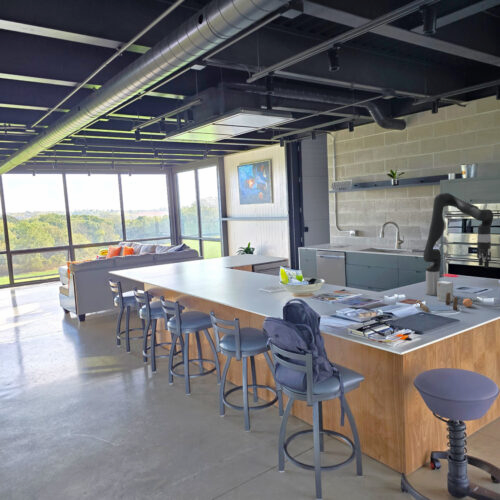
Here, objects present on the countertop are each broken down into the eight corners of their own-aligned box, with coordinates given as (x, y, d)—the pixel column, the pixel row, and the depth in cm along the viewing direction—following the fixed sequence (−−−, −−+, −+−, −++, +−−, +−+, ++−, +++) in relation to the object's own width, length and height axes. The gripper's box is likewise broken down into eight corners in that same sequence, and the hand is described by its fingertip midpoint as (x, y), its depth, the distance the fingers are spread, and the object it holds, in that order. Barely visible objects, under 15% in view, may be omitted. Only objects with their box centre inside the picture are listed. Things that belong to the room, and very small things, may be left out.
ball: (461, 305, 282) (461, 297, 282) (470, 305, 282) (470, 297, 281) (464, 308, 277) (464, 299, 276) (473, 307, 276) (473, 299, 276)
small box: (453, 301, 295) (453, 282, 294) (447, 302, 292) (447, 283, 291) (442, 298, 302) (443, 280, 301) (436, 300, 299) (437, 281, 298)
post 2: (452, 309, 275) (452, 297, 274) (456, 309, 275) (456, 297, 274) (453, 310, 273) (454, 298, 272) (458, 310, 273) (458, 298, 272)
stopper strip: (416, 304, 292) (416, 300, 292) (419, 304, 292) (419, 300, 291) (425, 312, 272) (425, 308, 272) (428, 312, 272) (428, 308, 272)
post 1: (445, 304, 288) (445, 292, 287) (449, 304, 288) (449, 292, 287) (446, 305, 285) (446, 293, 284) (450, 305, 285) (450, 293, 284)
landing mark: (423, 305, 288) (423, 304, 288) (443, 304, 287) (443, 304, 287) (430, 310, 275) (430, 310, 275) (451, 310, 274) (451, 309, 274)
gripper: (473, 240, 280) (472, 265, 282) (482, 242, 266) (482, 268, 268) (485, 239, 280) (484, 264, 282) (495, 242, 266) (495, 268, 268)
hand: (483, 266), depth 275 cm, fingers open, 7 cm apart
